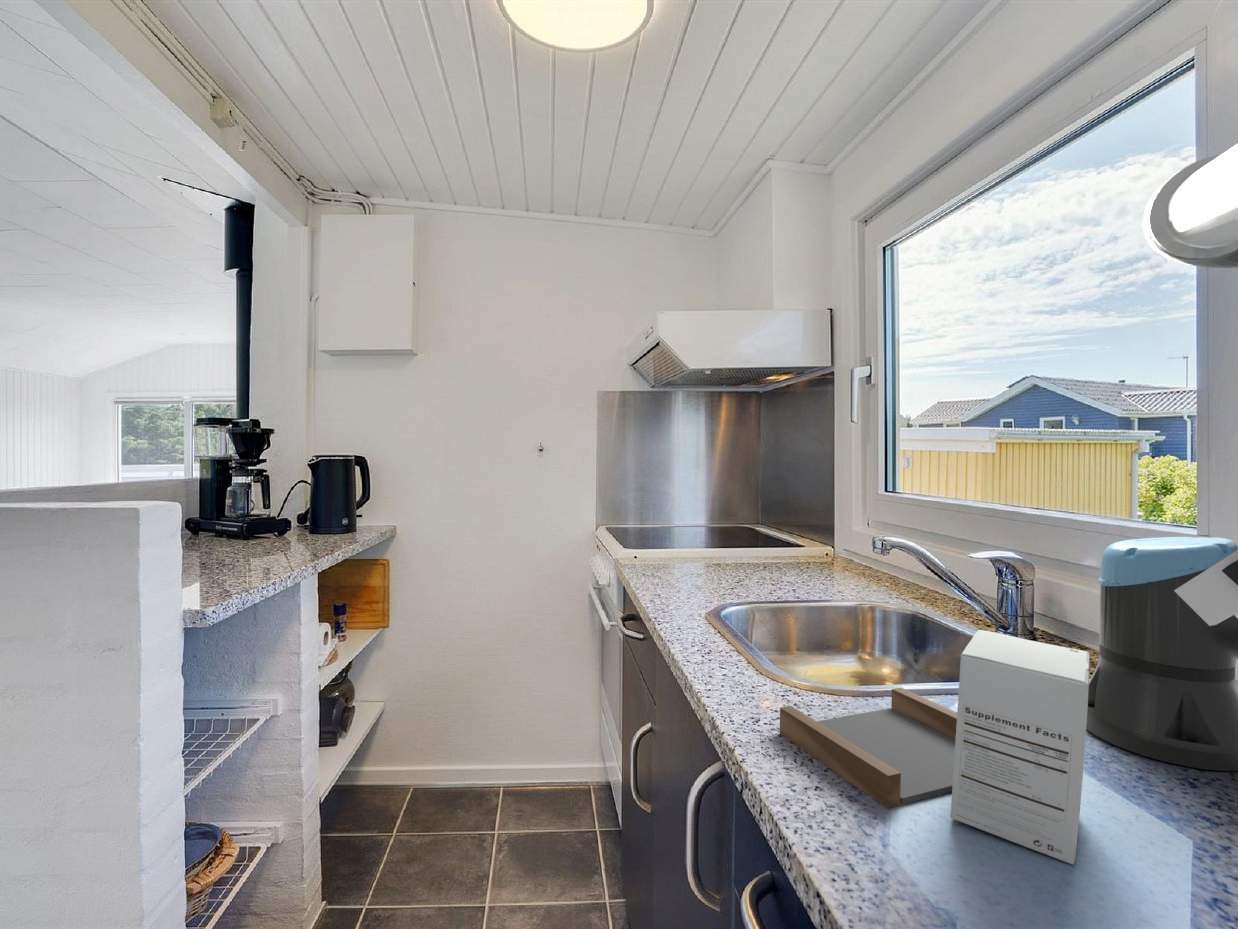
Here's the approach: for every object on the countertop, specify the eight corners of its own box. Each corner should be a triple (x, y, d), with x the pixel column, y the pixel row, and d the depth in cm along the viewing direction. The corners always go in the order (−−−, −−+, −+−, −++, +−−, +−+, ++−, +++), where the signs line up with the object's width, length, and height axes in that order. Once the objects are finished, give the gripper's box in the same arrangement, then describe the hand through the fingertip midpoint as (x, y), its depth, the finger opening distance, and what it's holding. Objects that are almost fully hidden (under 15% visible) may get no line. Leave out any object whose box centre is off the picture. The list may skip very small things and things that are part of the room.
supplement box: (965, 775, 59) (976, 626, 58) (1079, 814, 54) (1092, 650, 53) (946, 818, 52) (957, 651, 51) (1075, 869, 47) (1090, 681, 46)
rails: (900, 711, 76) (900, 687, 76) (1025, 772, 61) (1026, 743, 61) (779, 733, 69) (780, 707, 69) (887, 808, 54) (888, 775, 54)
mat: (889, 712, 75) (889, 708, 75) (1014, 775, 60) (1014, 769, 60) (792, 731, 70) (792, 725, 70) (902, 804, 55) (902, 798, 55)
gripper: (1836, 334, 20) (1189, 671, 35) (1905, 368, 25) (1325, 644, 41) (1546, 229, 24) (1092, 565, 40) (1660, 278, 30) (1225, 555, 46)
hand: (1210, 605), depth 40 cm, fingers open, 3 cm apart
